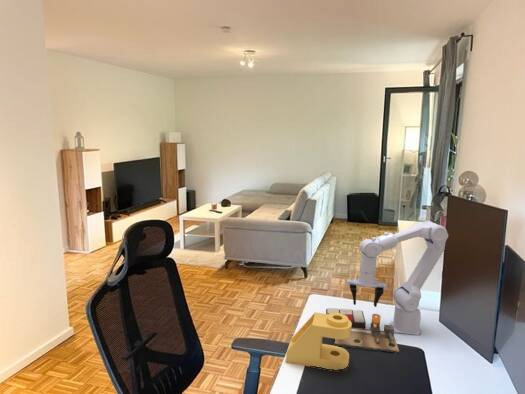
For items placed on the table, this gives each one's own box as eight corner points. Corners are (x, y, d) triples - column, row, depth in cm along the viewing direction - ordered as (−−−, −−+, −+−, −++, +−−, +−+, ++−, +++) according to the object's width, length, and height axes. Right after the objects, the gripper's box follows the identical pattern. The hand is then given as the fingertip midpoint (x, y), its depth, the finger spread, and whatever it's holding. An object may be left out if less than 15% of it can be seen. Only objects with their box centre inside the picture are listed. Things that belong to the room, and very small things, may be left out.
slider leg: (378, 331, 143) (379, 313, 142) (381, 343, 134) (383, 325, 133) (370, 330, 143) (371, 313, 142) (373, 342, 135) (374, 324, 134)
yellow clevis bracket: (348, 357, 128) (352, 313, 125) (348, 373, 119) (351, 326, 117) (290, 347, 133) (293, 304, 130) (285, 362, 124) (288, 316, 121)
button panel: (326, 306, 158) (362, 308, 156) (325, 316, 159) (362, 318, 156) (326, 319, 147) (365, 321, 145) (326, 329, 148) (365, 331, 146)
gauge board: (391, 334, 144) (393, 323, 143) (398, 353, 131) (400, 341, 131) (333, 328, 147) (334, 317, 146) (334, 346, 134) (335, 334, 134)
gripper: (385, 269, 146) (382, 302, 148) (347, 265, 148) (344, 298, 150) (388, 275, 139) (385, 310, 141) (348, 272, 141) (346, 306, 143)
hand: (364, 304), depth 145 cm, fingers open, 7 cm apart
